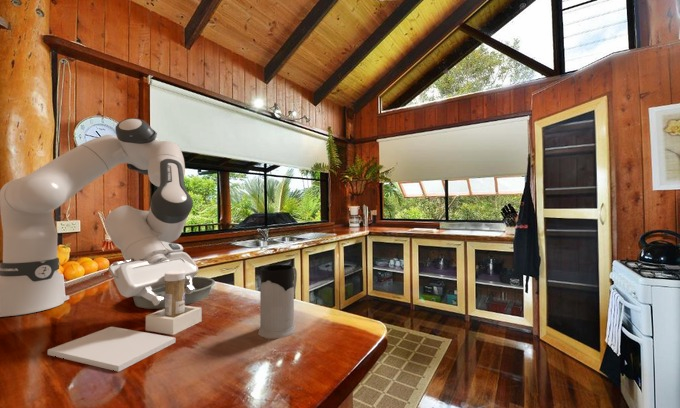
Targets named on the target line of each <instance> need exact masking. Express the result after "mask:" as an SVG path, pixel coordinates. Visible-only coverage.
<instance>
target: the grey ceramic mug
mask: <svg viewBox="0 0 680 408" xmlns="http://www.w3.org/2000/svg"><path fill="white" fill-rule="evenodd" d="M260 271H261V272H260V273H261V274H260V276H261V277H260V278H261V279H260V282H261V283H260V286H259V287H260V288H259V289H260V290H259V291H260V299H259V300H260V305H259V306H260V308H259V309H260V311H259V312H260V313H259V314H260V315H259V317H260V324H259V325H260V326H259V329H258V335H259V336H260V337H261V338H264V339H271V340H273V339H274V340H275V339H282V338H286V337H289V336H291V335H293V334H294V333H295V332H296V330H297V329H296V326H295V320H294V319H295V316H294V315H295V314H294V313H295V312H294V311H295V308H294V307H295V304H294V303H295V302H294V301H295V299H294V298H295V294H296V293H295V292H296V287H297V280H298V273H297V268H296V267H295V266H293V265H288V264H271V265H266V266H263V267H261V268H260Z"/></svg>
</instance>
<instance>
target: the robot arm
mask: <svg viewBox="0 0 680 408" xmlns="http://www.w3.org/2000/svg"><path fill="white" fill-rule="evenodd" d="M114 130H115V134H116V135H113V134H105V135H100V136H98V137H95V138H92V139H90V140H88V141H85V142H84V143H82V144H80V145H77V146H76V147H73V148H72V149H70V150H69V151H66V152H64V153H63V154H60V155H59V156H57V157H56V158H53V160H51V161H49V162H47V163H46V164H44V165H42V166H41V167H40V168H38V169H36V170H34V171H33V172H30V173H29V174H27V175H25V176H22V177H19V178H15V179H12V180H9V181H8V182H6V183H5V184H4V185H2V187H1V188H0V220H1V227H2V237H3V239H2V262H1V263H0V318H2V317H4V318H5V317H10V316H12V317H13V316H22V315H27V314H33V313H36V312H37V313H38V312H41V311H45V310H49V309H50V310H51V309H53V308H57V307H59V306H61V305H63V304H64V303H65V302H66V301H68V300H70V295H68V294H67V295H66V288H65V278H64V274H62V273H60V272H59V269H60V257H58V230H57V228H56V224H55V219H54V213H53V211H55V210H56V209H59V208H60V207H61V206H62V205H63V204H65V203H66V202H68V201H69V200H70V199H72V198H73V197H74V196H75V195H77V194H78V193H79V192H80V191H81V190H82V189H84V188H85V187H86V186H88V185H89V184H91V183H92V182H94V181H95V180H97V179H98V178H100V177H101V176H104V175H105V174H106V173H108V172H110V171H111V170H112V169H114V168H115V167H117V166H119V165H121V164H126V166H127V169H128V170H131V171H135V172H137V173H138V174H141V175H143V176H144V175H145V176H148V179H149V182H150V183H151V184H153V185H154V186H156V187H157V189H156V190H155V191H154V192H153V194H152V195H151V199H150V206H149V210H142V209H137V208H135V207H133V206H132V205H131V206H130V205H128V204H127V205H125V204H124V205H121V206H118V207H115V209H113V210H112V211H110V212H109V213H108V214H107V216H106V217H105V220H104V228H105V230H106V232H107V234H108V236H109V238H110V240H111V242H112V243H113V245H115V247H116V248H117V249H119V250H120V251H121V254H122V258H123V259H124V260H120V261H114V262H112V264H110V265H109V266H108V272H109V274H110V275H111V276H112V277H113V280H114V283H115V286H116V288H117V290H118V292H119V294H120V295H121V296H123V297H124V298H131V297H133V296H135V295H138V294H141V295H142V297H144V298H146V299H148V300H150V301H152V303H153V304H154V305H155V306H156V305H159V304H161V303H162V302H163V301H164V298H163V297H162V295H161V294H160V295H157V294H155V293H154V292H152V290H155V289H159V288H162V287H165V280H164V276H165V273H166V272H170V271H178V270H181V271H185V281H184V284H186V288H185V289H184V291H185V292H186V294H190V293H193V292H194V291H195V290H196V289H195V288H194V286H193V285H192V278H193V277H196V275H197V274H198V272H199V266H198V265H197V264H196V262H195V261H194V259H193V258H192V257H191V256H190V255H189V254H188V253H187V252H186V251H185V252H184V251H183V250H184V247H183V245H182V244H179V243H174V242H176V241H177V240H178V239H179V238H180V236H181V235H182V232H183V230H184V227H185V226H186V223H187V220H188V217H189V215H190V213H191V211H192V209H193V207H194V200H193V199H192V197H191V195H190V193H189V192H188V191H187V188H186V185H185V174H186V164H185V158H184V155H183V152H182V149H181V148H180V147H179V145H178V144H176V143H174V142H173V141H167V140H165V141H164V140H162V141H161V140H159V138H158V137H157V135H158V132H157V131H155V130H154V129H153V128H152V127H151V125H149V123H147V121H145V120H143V119H140V118H137V117H129V118H125V119H123V120H121V121H120V122H118V123H117V124H116V125H115V129H114Z"/></svg>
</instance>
